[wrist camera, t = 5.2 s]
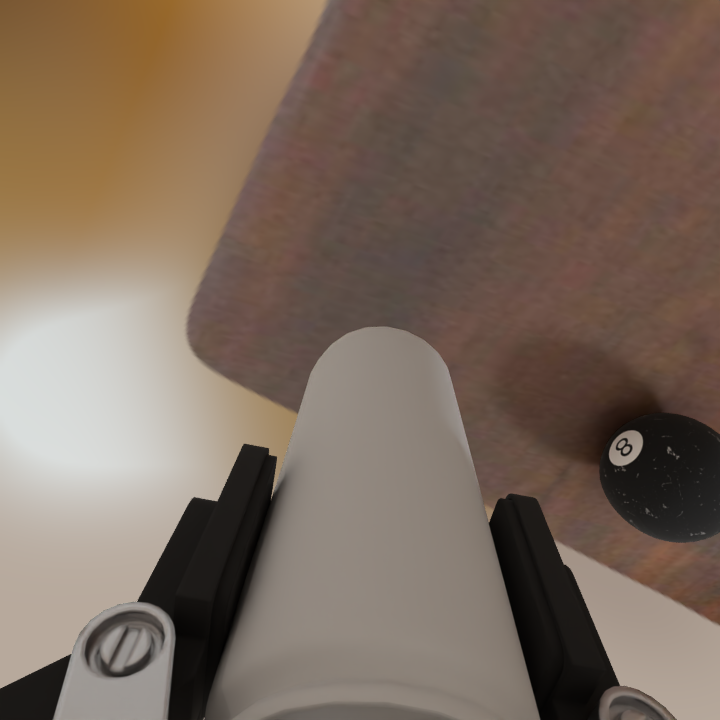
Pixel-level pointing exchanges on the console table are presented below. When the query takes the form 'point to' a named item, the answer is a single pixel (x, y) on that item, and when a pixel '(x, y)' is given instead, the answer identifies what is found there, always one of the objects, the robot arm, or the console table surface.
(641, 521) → the billiard ball
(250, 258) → the console table surface
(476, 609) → the beverage can
